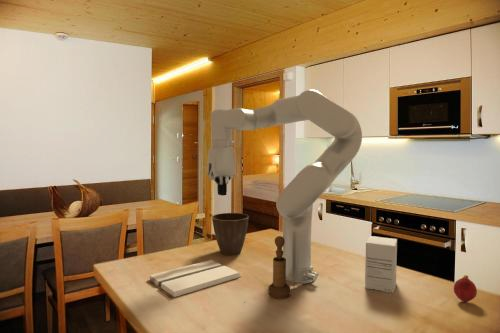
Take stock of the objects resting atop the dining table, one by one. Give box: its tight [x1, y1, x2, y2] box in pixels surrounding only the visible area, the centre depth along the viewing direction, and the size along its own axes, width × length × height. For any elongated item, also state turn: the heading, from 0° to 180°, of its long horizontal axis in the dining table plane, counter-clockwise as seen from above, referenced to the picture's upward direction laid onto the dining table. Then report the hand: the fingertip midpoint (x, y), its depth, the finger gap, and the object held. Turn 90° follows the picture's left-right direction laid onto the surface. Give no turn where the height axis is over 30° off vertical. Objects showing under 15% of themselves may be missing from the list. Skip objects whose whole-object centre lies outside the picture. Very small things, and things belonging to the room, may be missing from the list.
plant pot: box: [211, 212, 249, 256], centre depth 147 cm, size 15×15×16 cm
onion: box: [453, 274, 478, 303], centre depth 104 cm, size 6×6×8 cm
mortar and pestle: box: [267, 235, 291, 300], centre depth 109 cm, size 7×6×18 cm
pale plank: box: [161, 265, 240, 298], centre depth 116 cm, size 9×24×2 cm, turn 129°
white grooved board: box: [147, 259, 242, 300], centre depth 119 cm, size 17×26×3 cm, turn 129°
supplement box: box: [364, 235, 398, 294], centre depth 116 cm, size 9×9×15 cm
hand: (222, 194), depth 131 cm, fingers closed
